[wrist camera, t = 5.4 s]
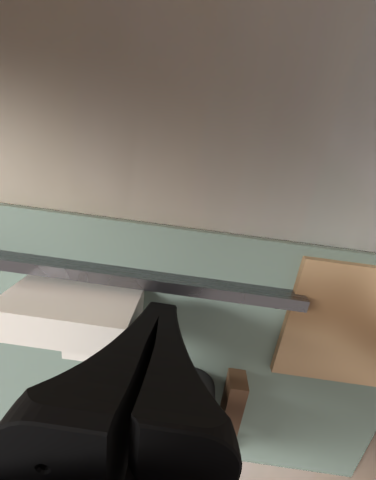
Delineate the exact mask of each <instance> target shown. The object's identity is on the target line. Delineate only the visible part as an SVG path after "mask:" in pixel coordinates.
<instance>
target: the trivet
mask: <svg viewBox="0 0 376 480" xmlns="http://www.w3.org/2000/svg"><path fill="white" fill-rule="evenodd" d="M293 291H294V293H295V294H299V295H306V297H307V298H308V300H309V301H310V304H309V307H308V310H307V313H304V312H297V311H289V310H287V311H286V314H285V318H284V321H283V324H282V328H281V331H280V334H279V338H278V341H277V344H276V348H275V351H274V354H273V358H272V361H271V365H270V369H271V372H273V373H280V374H287V375H294V376H301V377H308V378H315V379H323V380H330V381H337V382H344V383H351V384H358V385H365V386H372V387H376V265H369V264H362V263H354V262H347V261H339V260H332V259H325V258H317V257H310V256H303V257H302V261H301V264H300V267H299V271H298V274H297V277H296V281H295V284H294V287H293Z"/></svg>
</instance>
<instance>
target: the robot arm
mask: <svg viewBox="0 0 376 480" xmlns="http://www.w3.org/2000/svg"><path fill="white" fill-rule="evenodd" d="M241 470H242V459H241V453H240V448H239V444H238V440H237V436H236V433H235V430H234V427H233V424H232V421H231V419H230V417H229V416H228V415H227V414H226V413H225V411H224V410H223V409H222V408H221V407H220V405H219V404H218V403H217V401H216V400H215V399H214V397H213V396H212V394H211V393H210V392H209V390H208V389H207V387H206V385H205V384H204V382H203V381H202V379H201V377H200V376H199V374H198V372H197V370H196V369H195V367H194V365H193V363H192V361H191V358H190V356H189V354H188V352H187V349H186V346H185V344H184V341H183V338H182V335H181V331H180V328H179V323H178V318H177V307H176V305H172V304H165V303H157V302H150V303H149V304H148V305H147V307H146V308H145V309H144V310H143V312H142V313H141V314H140V315H139V316H138V317H137V318H136V319H135V320H134V321H133V322H132V323H131V324H130V325H129V326H128V327H127V328H126V329H125V330H124V331H123V332H122V333H121V334H120V335H119V336H118V337H116V338H115V339H114V340H113V341H112V342H110V343H109V344H108V345H106V346H105V347H104V348H102V349H101V350H100V351H98V352H97V353H95V354H94V355H92V356H91V357H89V358H88V359H86V360H85V361H83V362H81V363H80V364H78V365H76V366H74V367H73V368H71V369H69V370H67V371H65V372H63V373H61V374H59V375H57V376H55V377H53V378H50V379H48V380H46V381H43V382H41V383H39V384H36V385H34V386H32V387H29V388H27V389H26V390H25V391H24V393H23V394H22V395H21V396H20V397H19V398H18V399H17V400H16V401H15V403H14V404H13V405H12V406H11V407H10V409H9V410H8V411H7V413H6V414H5V416H4V417H3V418H2V420H1V421H0V480H239V478H240V474H241Z"/></svg>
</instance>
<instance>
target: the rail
mask: <svg viewBox="0 0 376 480" xmlns="http://www.w3.org/2000/svg"><path fill="white" fill-rule="evenodd" d="M0 271H6V272H13V273H20V274H27V275H35V276H42V277H49V278H57V279H64V280H71V281H78V282H86V283H93V284H100V285H107V286H115V287H122V288H129V289H137V290H144V291H151V292H158V293H166V294H173V295H180V296H187V297H195V298H202V299H209V300H217V301H224V302H231V303H238V304H246V305H253V306H260V307H267V308H275V309H282V310H289V311H297V312H304V313H307V310H308V307H309V304H310V301H309V300H308V298H307V297H306V295H299V294H295V293H294V291H293V290H291V289H284V288H276V287H269V286H262V285H254V284H247V283H240V282H232V281H225V280H218V279H210V278H203V277H196V276H188V275H181V274H174V273H166V272H159V271H151V270H144V269H137V268H129V267H122V266H115V265H107V264H100V263H93V262H85V261H78V260H71V259H63V258H56V257H49V256H41V255H34V254H27V253H19V252H12V251H5V250H0Z"/></svg>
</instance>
